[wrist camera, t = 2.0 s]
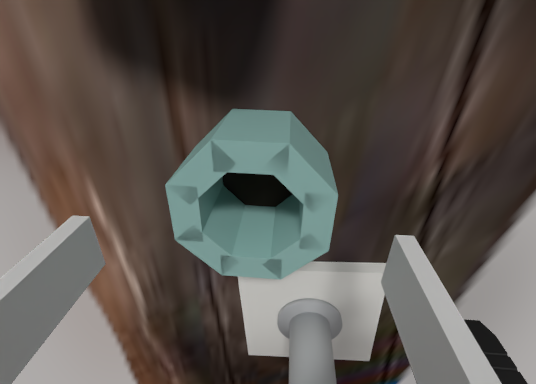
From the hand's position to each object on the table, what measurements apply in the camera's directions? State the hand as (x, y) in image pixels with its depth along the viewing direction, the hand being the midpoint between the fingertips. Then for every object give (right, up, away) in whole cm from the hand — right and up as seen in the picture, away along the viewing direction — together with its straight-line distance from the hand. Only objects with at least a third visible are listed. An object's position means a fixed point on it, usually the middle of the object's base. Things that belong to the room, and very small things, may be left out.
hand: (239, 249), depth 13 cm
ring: (+1, +4, +6) cm, 7 cm away
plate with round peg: (+5, -7, +12) cm, 15 cm away
